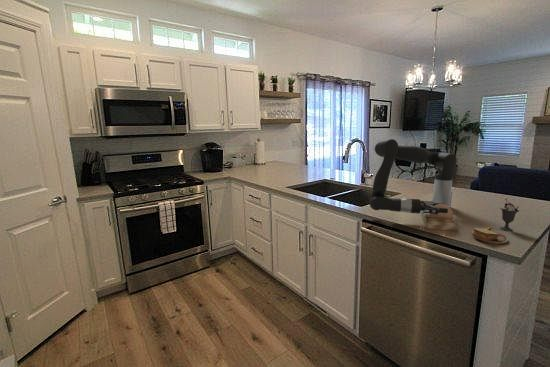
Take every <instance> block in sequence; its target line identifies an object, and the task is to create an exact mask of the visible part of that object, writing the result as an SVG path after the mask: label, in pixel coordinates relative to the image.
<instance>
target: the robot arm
mask: <svg viewBox="0 0 550 367" xmlns="http://www.w3.org/2000/svg"><path fill="white" fill-rule="evenodd" d="M374 152H375V154H376V155H377V156H379V157H381V158H383V160H382V163H381V164H380V167H379V168H378V170H377V172H376V174H375V175H374V179H373V184H372V192H371V195H370V196H371V197H370V200H369V207H370V208H371V209H372V210H373V211H382V210H383V211H390V212H398V213H400V212H401V213H405V214H418V215H419V214H420V212H421V210H422V211H424V213H430V214H438V213H448V209H447V208H437V207H435V205H437V204H444V205H447V206H448V207H450V208H451V206H452V197H453V191H452V188H453V186H452V185H453V179H454V176H455V174H456V168H457V163H458V158H457V156H456V154H454V153H453V152H443V151H441V152H440V151H439V152H438V151H431V150H428V149H426V148H424V147H421V146H416V145H399V143H398V142H397V140H396V139H393V138H388V139H384V140H381V141H378V142H377V143H376V144H375V146H374ZM395 159H398V160H402V161H406V162H407V161H408V162H410V163H415V164H428V165H430V166H434V167H438V168H439V169H441V168H442V169H441V171H440V172H438V173H435V175H434V183H433V191H432V201H431V200H430V201H429V200H427V201H425V200H421V199H419V198H406V197H405V198H399V197H398V198H396V197H392V198H391V197H385V194H386V192H387V188H388V184H389V183H388V182H389V177H390V174H391V171H392V168H393V166H394V162H395V161H396V160H395ZM435 210H436V211H435Z"/></svg>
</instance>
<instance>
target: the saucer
mask: <svg viewBox="0 0 550 367" xmlns="http://www.w3.org/2000/svg"><path fill="white" fill-rule="evenodd" d="M435 207H437V208H447V209H448V213H438V214H430V217H431V218H432V219H444V220H451V219H452V218H453V217H454V212H453V209H452V208H451V207H448V206H447V205H444V204H437V205H435ZM435 211H436V210H435Z"/></svg>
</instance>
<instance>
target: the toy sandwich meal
mask: <svg viewBox="0 0 550 367" xmlns="http://www.w3.org/2000/svg"><path fill="white" fill-rule="evenodd" d="M492 228H493V227H492V226H489V227H484V228H477V227H476V228H475V227H473V232H472V233H471V234H472V235H471V236H473V237H474V238H475V239H477V240H478V239H479V241H481V242H484V243H488V244H493V245H502V244H505V243H508V241H509V239H508V237H506V235H503V233H500V232H497V231H496V232H495V231H492Z"/></svg>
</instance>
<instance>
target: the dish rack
mask: <svg viewBox="0 0 550 367" xmlns="http://www.w3.org/2000/svg"><path fill="white" fill-rule="evenodd" d="M421 220H422V222H423V224H424V226H425V228H426V229H432V230H433V229H434V230H445V231H454V232H456V231H457V230H458V223H457V221H456V220H455V218H453V217H452V219H451V220H444V219H432V218H431V217H430V214H428V213H423V215H422V217H421Z"/></svg>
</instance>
